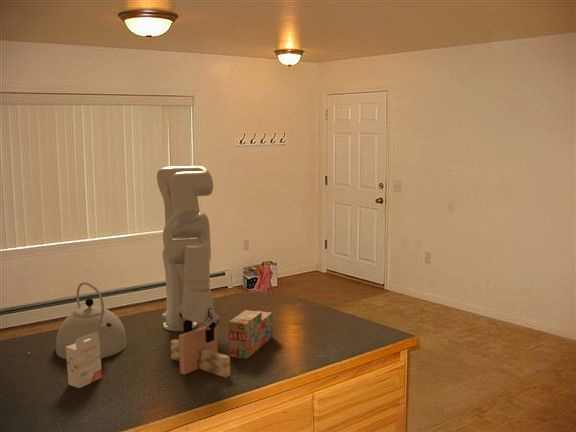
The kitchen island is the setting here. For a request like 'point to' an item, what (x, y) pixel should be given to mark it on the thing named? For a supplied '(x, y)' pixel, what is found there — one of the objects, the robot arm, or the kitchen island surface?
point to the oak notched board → (206, 360)
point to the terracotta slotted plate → (194, 348)
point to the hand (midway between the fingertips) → (198, 337)
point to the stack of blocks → (249, 332)
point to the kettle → (92, 327)
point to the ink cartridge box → (84, 360)
